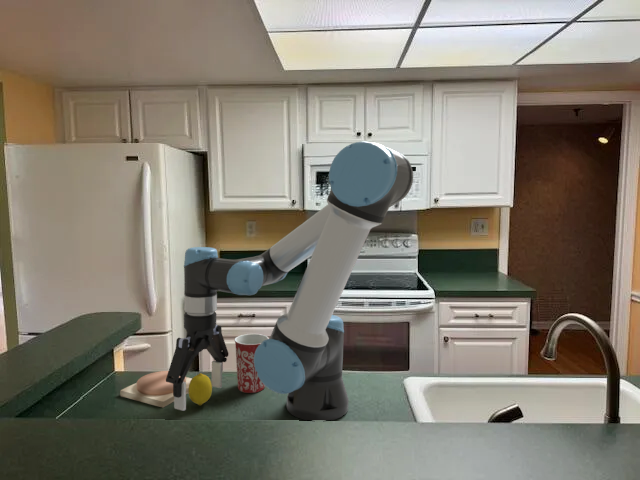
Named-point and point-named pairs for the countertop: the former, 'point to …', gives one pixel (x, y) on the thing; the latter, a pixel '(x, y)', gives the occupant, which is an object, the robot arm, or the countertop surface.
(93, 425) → the countertop surface
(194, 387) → the lemon
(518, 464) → the countertop surface
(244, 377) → the mug
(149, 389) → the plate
